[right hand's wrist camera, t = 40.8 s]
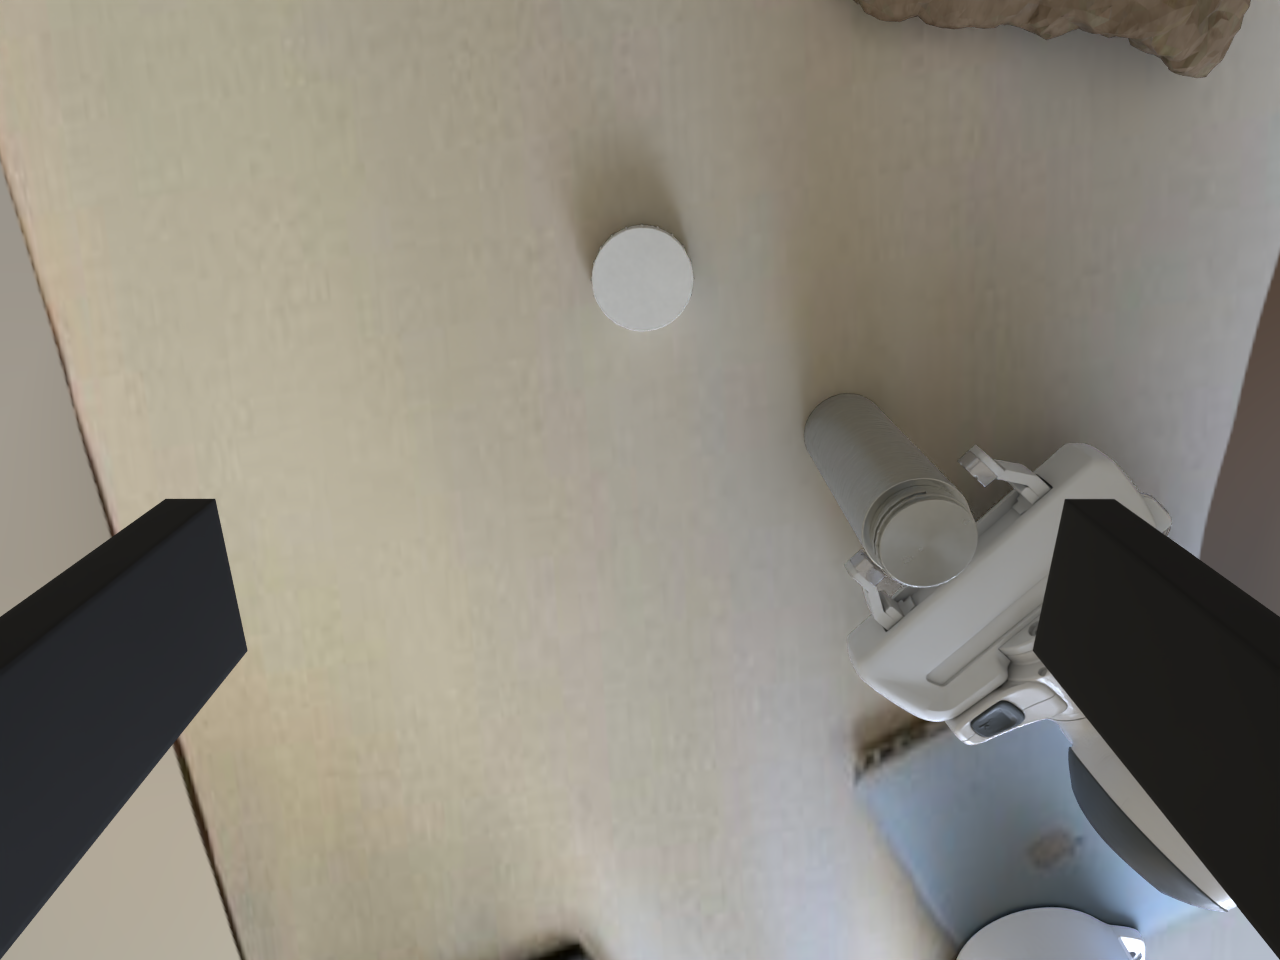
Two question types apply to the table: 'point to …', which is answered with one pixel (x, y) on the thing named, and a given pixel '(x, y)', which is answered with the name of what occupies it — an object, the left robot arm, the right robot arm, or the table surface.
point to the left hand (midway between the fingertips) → (910, 509)
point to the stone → (1095, 22)
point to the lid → (642, 278)
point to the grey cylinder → (891, 493)
